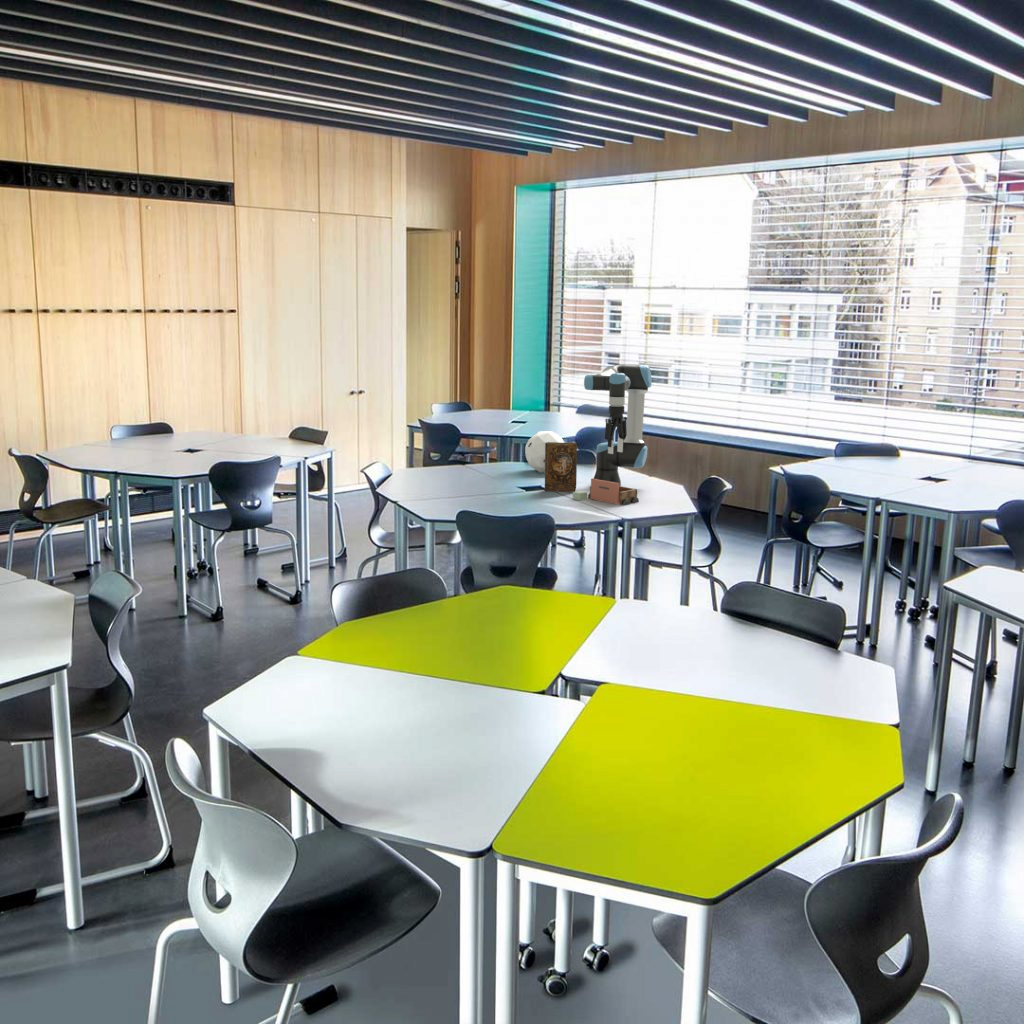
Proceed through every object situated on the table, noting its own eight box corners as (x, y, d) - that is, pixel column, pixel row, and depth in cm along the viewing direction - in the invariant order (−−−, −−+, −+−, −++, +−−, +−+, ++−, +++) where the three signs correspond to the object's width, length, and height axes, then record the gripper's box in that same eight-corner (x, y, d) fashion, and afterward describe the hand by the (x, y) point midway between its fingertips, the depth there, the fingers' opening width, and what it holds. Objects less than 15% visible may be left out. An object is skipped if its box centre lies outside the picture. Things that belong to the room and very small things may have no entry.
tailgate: (591, 498, 487) (592, 478, 485) (618, 503, 476) (619, 483, 473) (590, 498, 487) (590, 478, 484) (616, 504, 475) (617, 483, 473)
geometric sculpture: (543, 466, 588) (568, 434, 581) (555, 488, 568) (581, 455, 561) (511, 448, 576) (536, 415, 568) (522, 469, 556) (548, 436, 548)
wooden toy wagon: (603, 497, 498) (603, 483, 497) (639, 504, 482) (639, 489, 480) (587, 501, 490) (587, 486, 488) (623, 508, 474) (624, 492, 472)
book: (544, 491, 513) (544, 443, 508) (544, 489, 518) (545, 442, 513) (575, 492, 511) (576, 444, 506) (576, 490, 517) (577, 442, 511)
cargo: (579, 500, 492) (579, 490, 491) (587, 502, 488) (587, 492, 487) (572, 501, 488) (572, 491, 487) (580, 503, 485) (580, 493, 484)
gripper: (623, 403, 485) (622, 449, 490) (597, 406, 472) (596, 453, 477) (635, 404, 480) (633, 451, 485) (609, 407, 467) (608, 455, 472)
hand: (615, 452), depth 481 cm, fingers open, 6 cm apart
